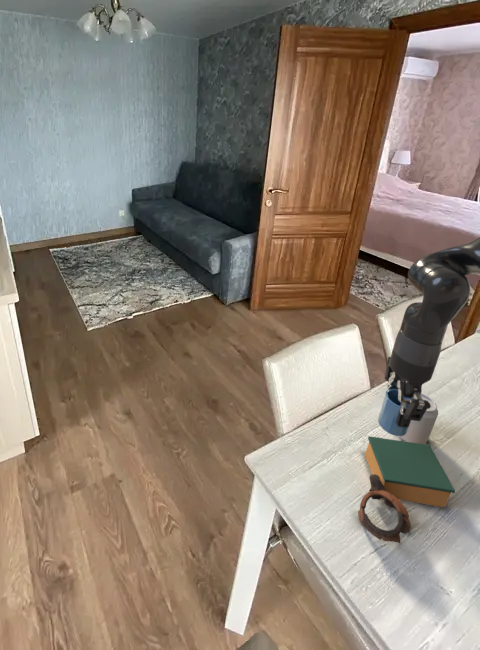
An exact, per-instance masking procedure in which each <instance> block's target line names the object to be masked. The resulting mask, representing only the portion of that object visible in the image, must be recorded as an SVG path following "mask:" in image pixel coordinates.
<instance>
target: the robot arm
mask: <svg viewBox="0 0 480 650" xmlns="http://www.w3.org/2000/svg"><path fill="white" fill-rule="evenodd" d="M468 275H477V276H480V236H479V237H477V238H475V239H472V241H470V242H468V243H467V242H466V243H464V244H460V245H455V246H452V247H449V248H445V249H441V250H437V251H434V252H431V253H428V254H426V255H424V256H421V257H420V258H419V259H417V260H416V261H415V262H414V263H412V265H410V267H409V269H408V272H407V278H408V281H409V283H410V284H411V285H412V286H413V287H414V288H415V290H417V291H418V292H419V293H420V294H421V295H422V301H419V302H418V301H417V302H412V303H410V304H409V305H407V307H406V309H405V310H404V314H403V316H402V317H403V318H402V322H401V324H400V327H399V330H398V332H397V334H396V336H395V340H394V344H393V347H392V350H391V354H390V356H388V357H387V361H386V367H385V373H384V380H385V381H386V382H387V384H386V388H387V390H388V389H398V401H399V402H400V412H399V415H398V418H397V421H396V424H397V426H398V427H404V428H408V427H409V425H410V422H411V420H414V421H420V420H421V419H422V417H423V415H424V413H425V412H426V410H427V408H428V406H429V402H428V401H427V400H423V399H422V397H421V395H420V394H421V393H423V392H422V391H423V390H422V389H423V385H424V384H426V383H428V382H430V381H431V380H432V378H433V375H434V372H435V369H436V366H437V364H438V360H439V358H440V355H441V353H442V352H441V351H442V345H443V341H444V338H445V336H446V332H447V330H448V326H449V324H450V323H451V322H452V321H453V320H454V319H455V317H456V316H457V315H458V314H459V312H460V311H461V310H462V309H463V308H464V306H465V305H466V304H467V302H468V300H469V298H470V294H471V283H470V281H469V279H468V277H467V276H468ZM404 397H411V398H412V397H413V399H404ZM407 404H408V405H409V407H408V408H407V409H405V408H406V405H407Z"/></svg>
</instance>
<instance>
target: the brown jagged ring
mask: <svg viewBox="0 0 480 650" xmlns="http://www.w3.org/2000/svg"><path fill="white" fill-rule="evenodd" d="M369 483H370V488H369V490H368V492H367V493H365V494H364V495H363V497H362V499H361V500H360V505H359V510H358V511H357V517H358V520H359V522H360V524H361V525H362V527H364V529H365V530H366V531H368V533H369V534H371V535H372V536H373V537H375V538H376V539H378V540H382V541H383V542H387V543H389V542H392V543H397V544H402V542H401V541H402V539H401V534H403V535H406V534H409V533H410V532H411V530H412V526H411V521H410V514H409V511H408V509H407V507H406V506H405V505H404V504H403V503H402V500H399V499H398V498H396V497H395V496H394V495H392V494H390V493H389V492H388V491H386V489H385V488H384V486H383V484H382V482H381V480H380V477H379V476H378V475H376V474H374V475H372V474H370V476H369ZM370 499H371V500H379V501H380V500H381V499H384V504H385V506H388V507H390V508H391V509H394V510H395V511H396V512H397V516H398V519H397V520H398V521H397V524H396V526H395V527H394V528H393V529H390V530H387V529H382V528H380V527H378V526H376V524H374V523H373V522H372V521H371V519H370V518H369V516H368V514H367V513H366V511H365V510H366V507H367V504H368V501H369V500H370Z"/></svg>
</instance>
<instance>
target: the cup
mask: <svg viewBox="0 0 480 650" xmlns="http://www.w3.org/2000/svg"><path fill="white" fill-rule="evenodd" d="M404 399H413V397H412V398H411V397H404ZM408 407H409V405H408V404H407V405H406V408H405V409H407V408H408ZM399 412H400V402H399V401H398V389H388V388H387V390H386V391H385V394H384V397H383V400H382V403H381V407H380V411H379V414H378V417H377V418H378V419H377V421H378V425H379V426H380V428H382V430H384V432H386V433H388V434H390V435H392V436H394V437H395V436H396V437H400V436H403V435H405V434H406V433H407V431H408V428H409V427H408V428H404V427H398V426H397V424H396V421H397V418H398V415H399Z"/></svg>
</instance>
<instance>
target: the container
mask: <svg viewBox="0 0 480 650" xmlns="http://www.w3.org/2000/svg"><path fill="white" fill-rule="evenodd" d="M367 439H368V440H367V441H368V444H367V447H366V450H365V453H364V456H365V458H366V461H367V464H368V467H369V469H370V473H371V475H374V474H376V475H378V476H379V477H380V480H381V482H382V484H383V486H384V488H385V489H386V491H388V492H389V493H390V494H392V495H394V496H395V497H396V498H398V499H399V500H400V501H406V502H412V503H418V504H423V505H429V506H433V507H439V508H440V507H441V508H445V507H446V505H447V503H448V501H449V499H450V497H451V495H452V494H456V489H455V488H454V486H453V483H452V482H451V481H450V479H449V477H448V475H447V473H446V471H445V469H444V468H443V465H442V464H441V462H440V461H439V458H438V456H437V455H436V453H435V452H434V450H433V447H432V446H431V445H430V444H418V443H411V442H406V441H404V440H398V439H390V438H383V437H378V436H377V437H376V436H370V435H368V437H367Z"/></svg>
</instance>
